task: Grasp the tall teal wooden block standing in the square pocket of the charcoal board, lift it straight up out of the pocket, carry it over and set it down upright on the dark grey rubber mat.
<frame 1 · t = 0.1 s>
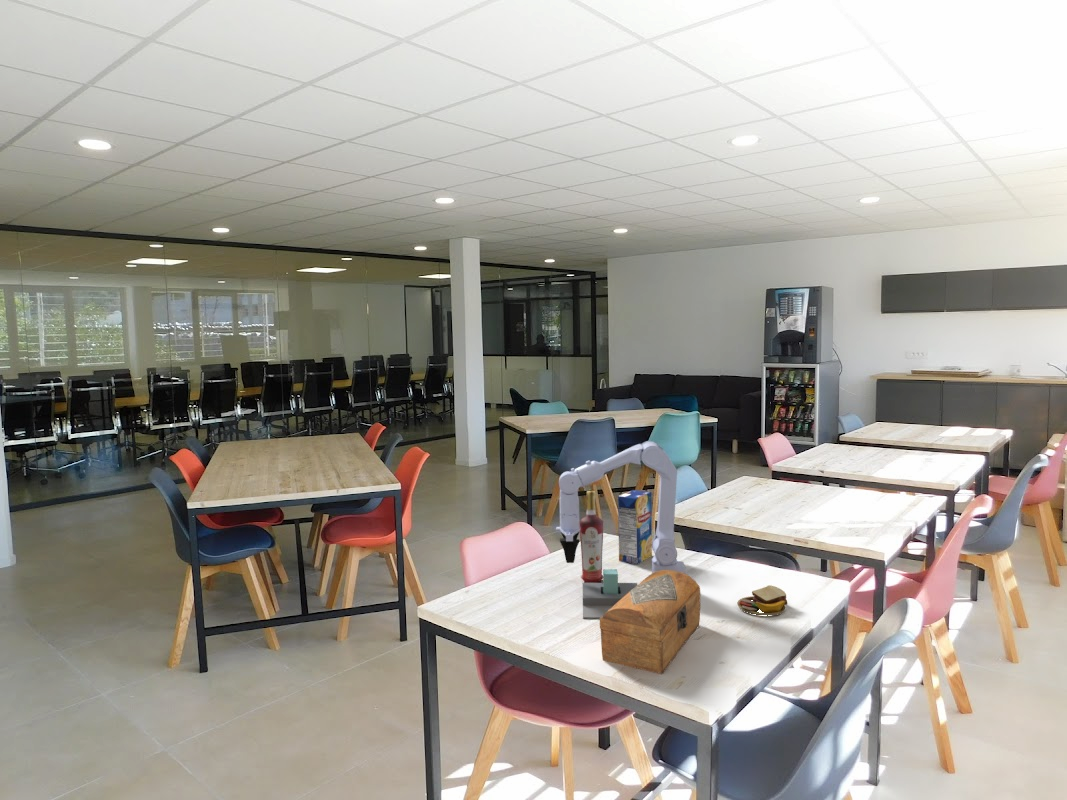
hand: (570, 558, 202), 10 cm above the table, tool pointing down, fingers open, 7 cm apart
toy sandwich meal: (762, 609, 188), on the table
pocket board: (610, 598, 197), on the table
teal block: (610, 585, 196), in the pocket board
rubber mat: (597, 612, 187), on the table
wooden box: (655, 643, 169), on the table
liquor: (592, 581, 211), on the table
beverage box: (635, 558, 232), on the table
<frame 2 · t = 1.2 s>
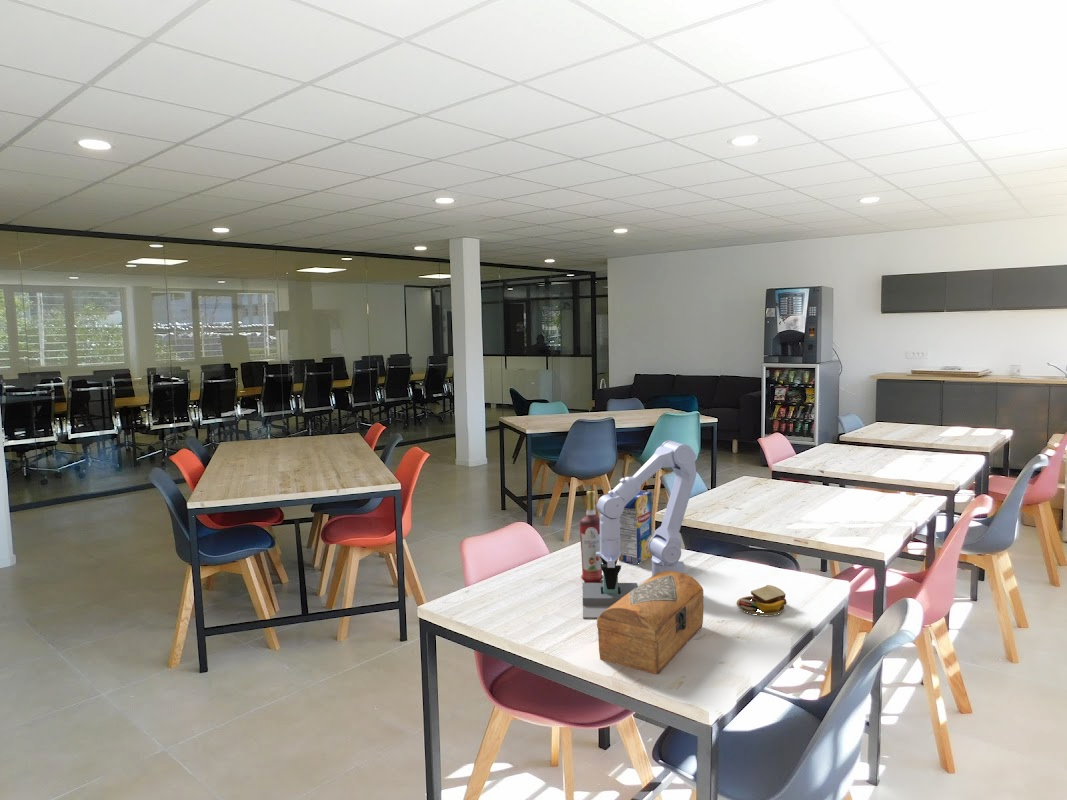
hand: (610, 584, 196), 4 cm above the table, tool pointing down, fingers open, 7 cm apart
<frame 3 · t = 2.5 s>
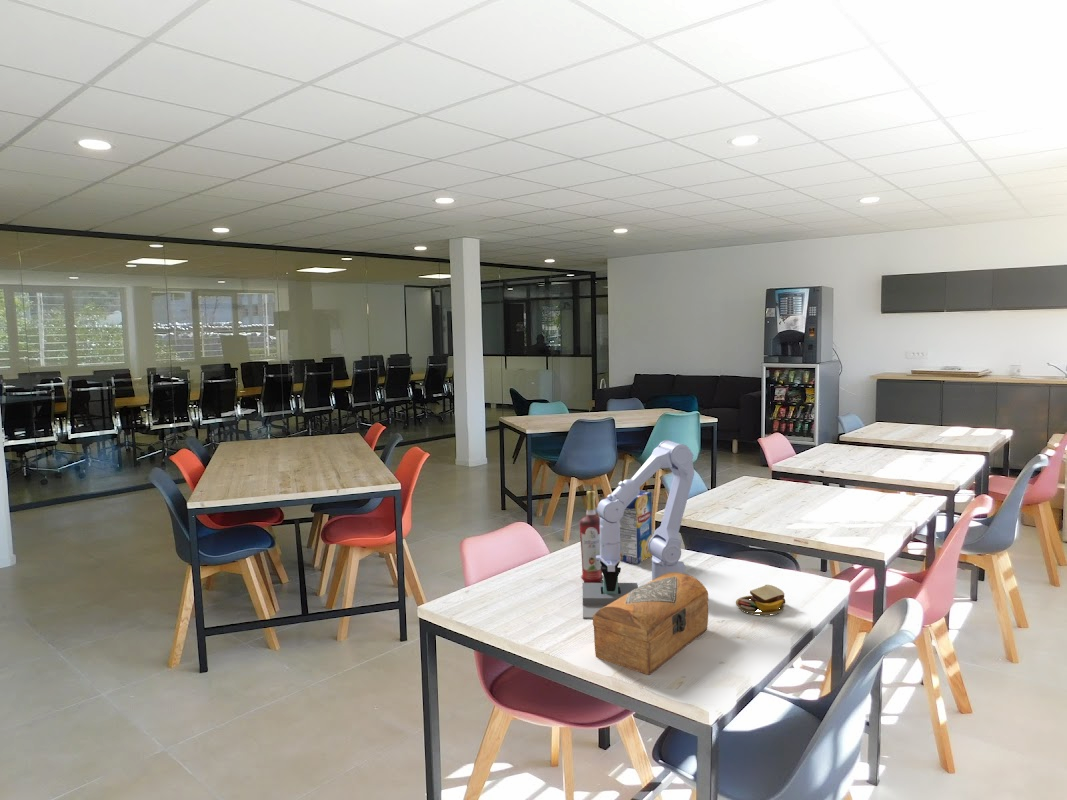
hand: (610, 587, 196), 3 cm above the table, tool pointing down, fingers closed on teal block, 4 cm apart
teal block: (610, 585, 196), in the pocket board, touching gripper
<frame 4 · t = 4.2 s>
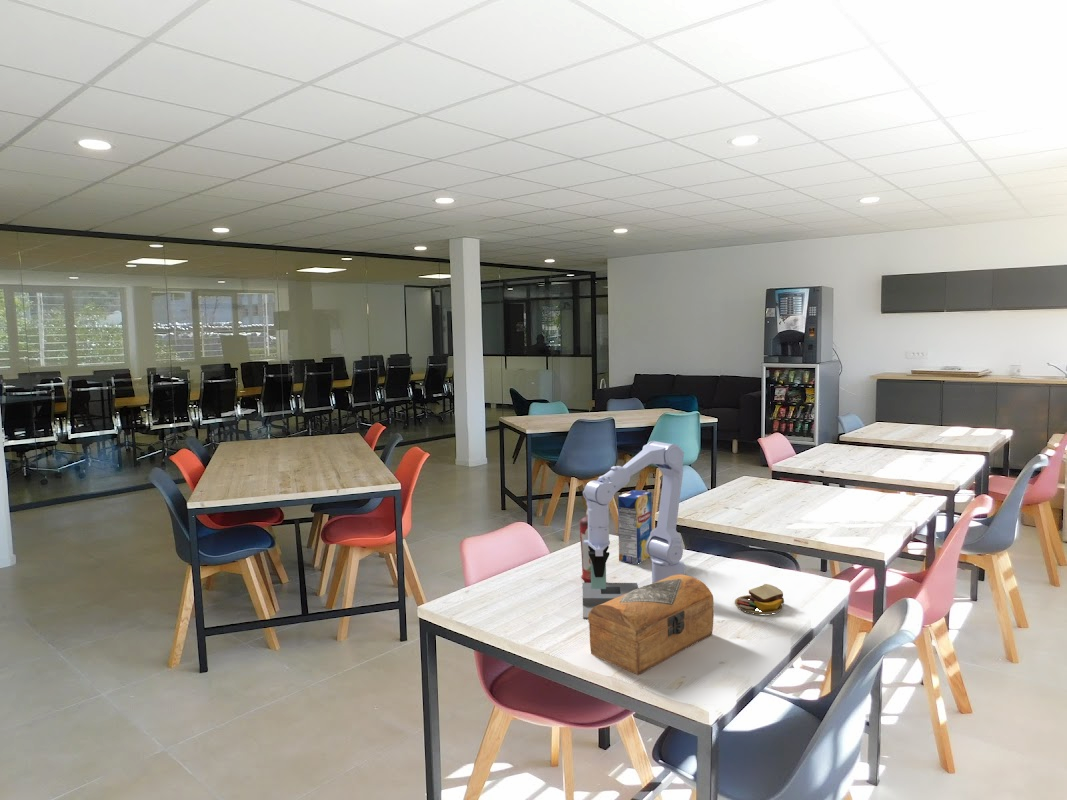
hand: (598, 573, 188), 10 cm above the table, tool pointing down, fingers closed on teal block, 4 cm apart
teal block: (598, 572, 188), point 11 cm above the table, touching gripper
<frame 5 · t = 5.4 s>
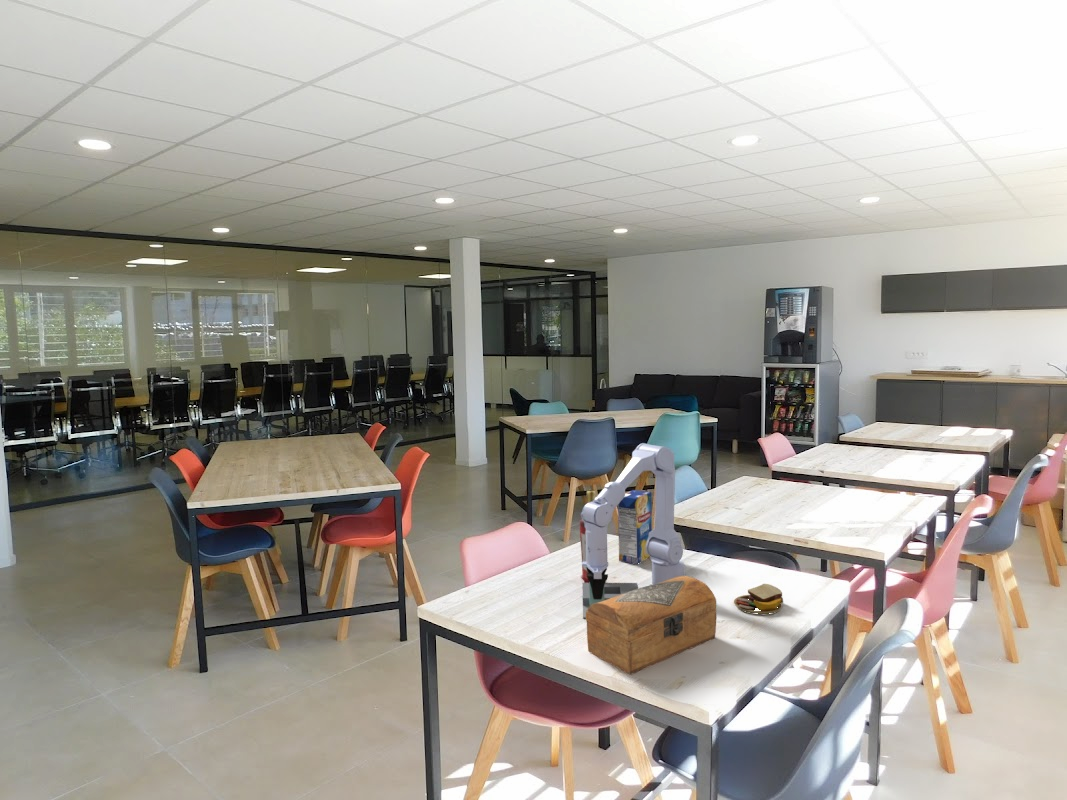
hand: (597, 595, 187), 5 cm above the table, tool pointing down, fingers closed on teal block, 4 cm apart
teal block: (596, 593, 187), point 5 cm above the table, touching gripper
when the fingers open (5 cm above the table, at t = 6.2 s): teal block stays where it is, resting on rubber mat.
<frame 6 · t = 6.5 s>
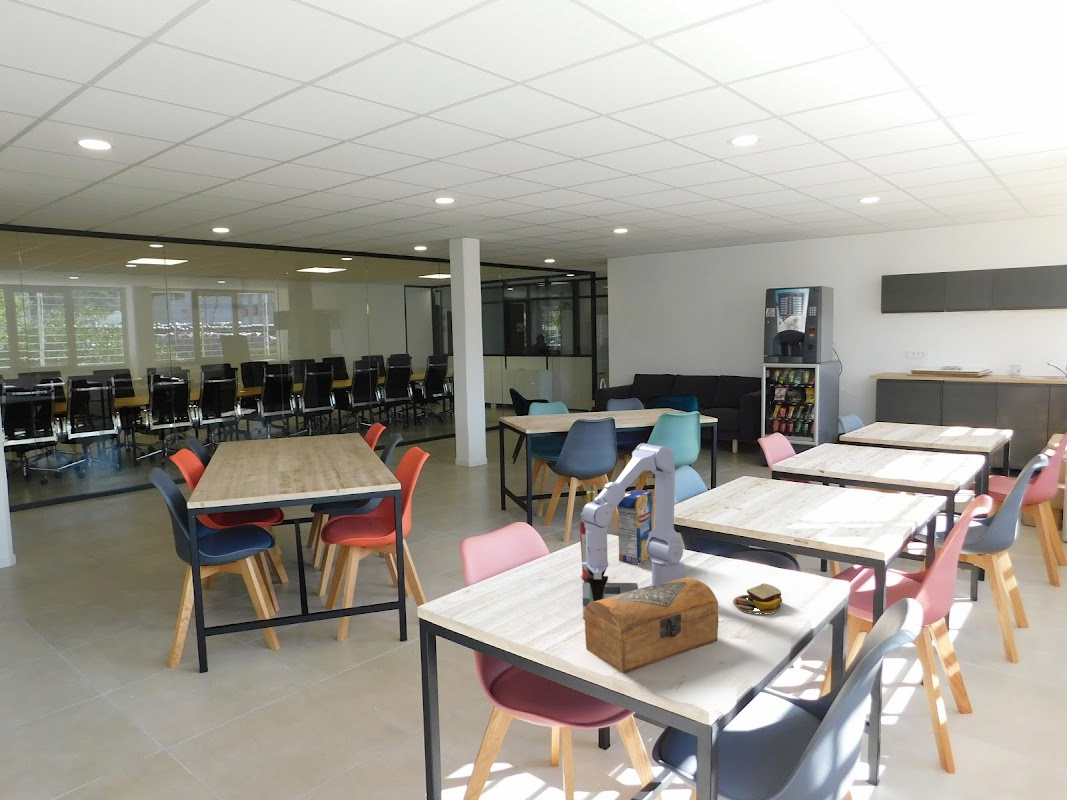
hand: (597, 595, 187), 5 cm above the table, tool pointing down, fingers open, 6 cm apart
teal block: (597, 597, 187), on the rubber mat
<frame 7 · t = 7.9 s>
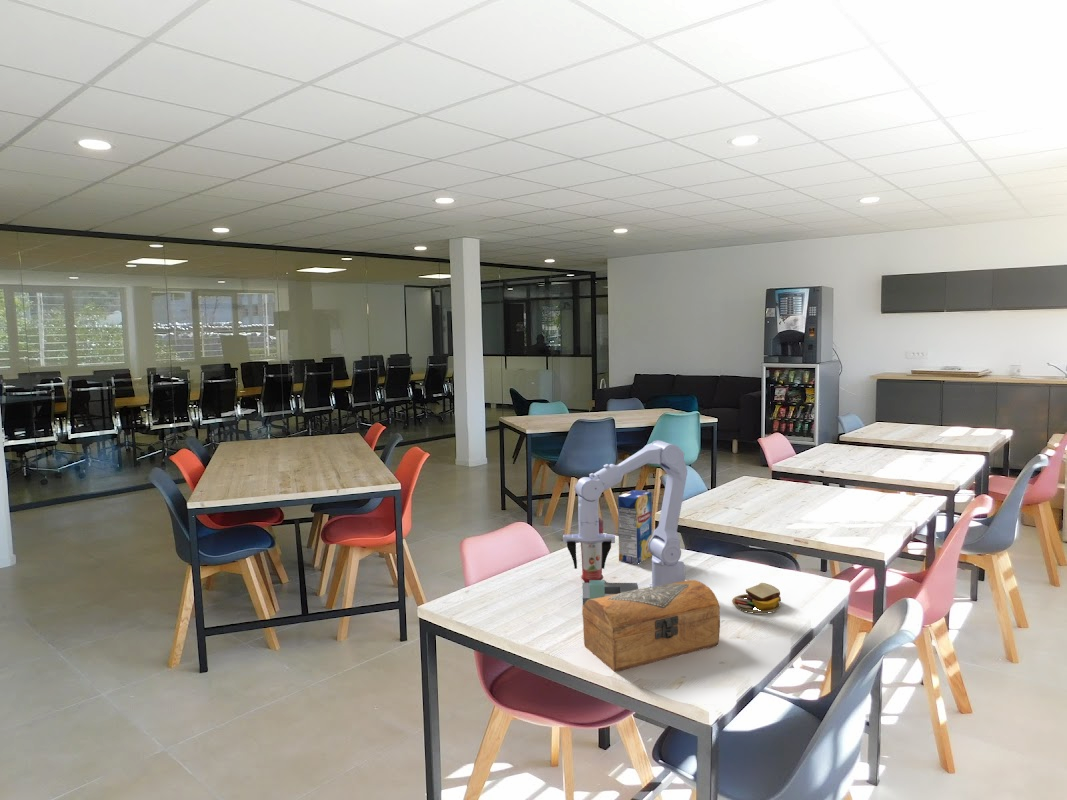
hand: (589, 567, 194), 10 cm above the table, tool pointing down, fingers open, 7 cm apart
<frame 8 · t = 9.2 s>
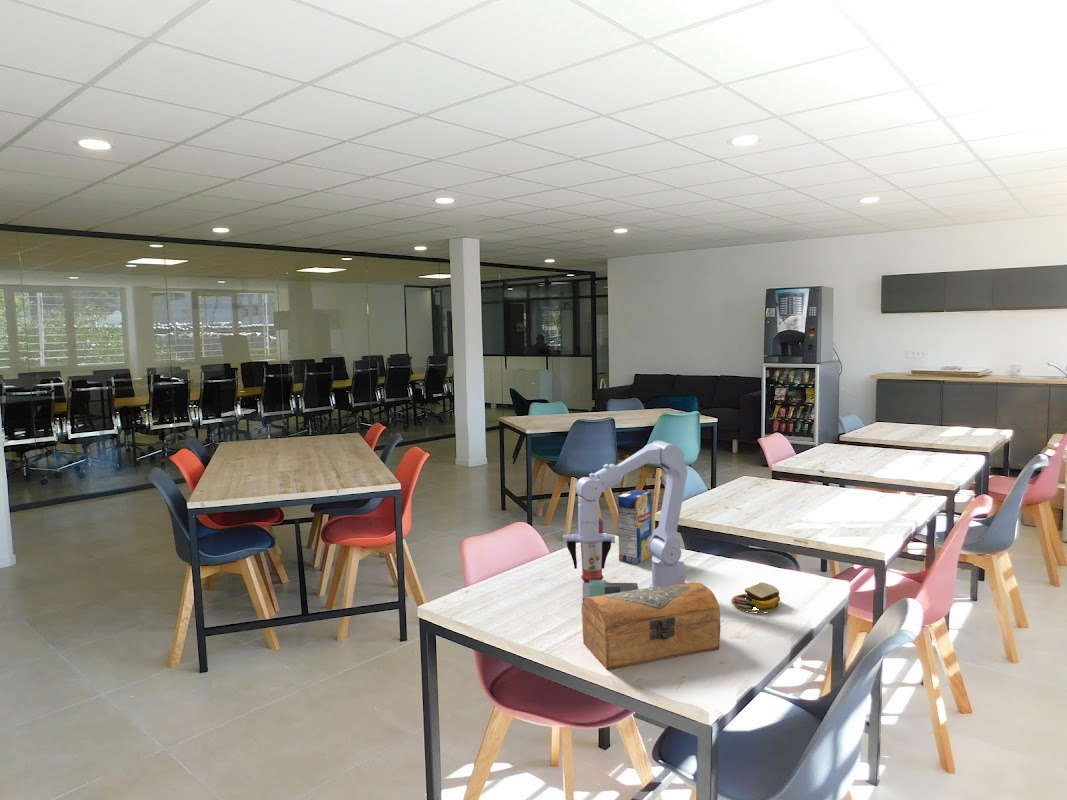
hand: (589, 567, 194), 10 cm above the table, tool pointing down, fingers open, 7 cm apart
at the end: teal block inside the target area on the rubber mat (0.1 cm from its centre), point 4.4 cm above the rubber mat's base; teal block tilted 0°; the gripper is holding nothing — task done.
